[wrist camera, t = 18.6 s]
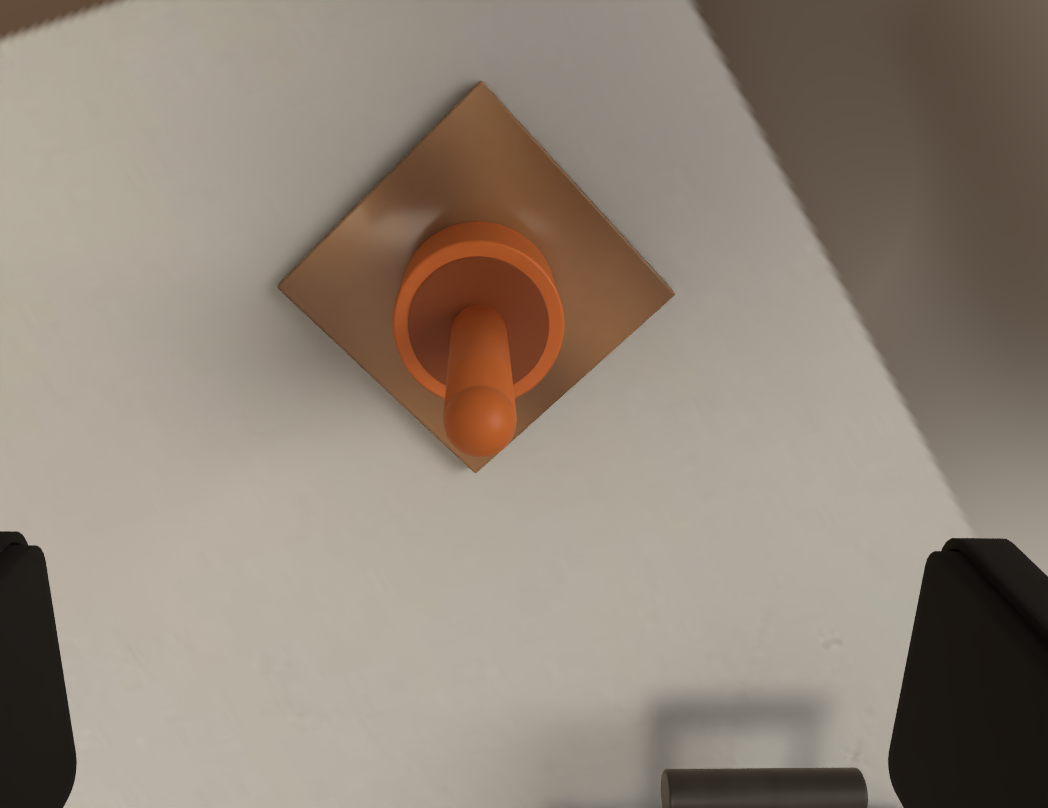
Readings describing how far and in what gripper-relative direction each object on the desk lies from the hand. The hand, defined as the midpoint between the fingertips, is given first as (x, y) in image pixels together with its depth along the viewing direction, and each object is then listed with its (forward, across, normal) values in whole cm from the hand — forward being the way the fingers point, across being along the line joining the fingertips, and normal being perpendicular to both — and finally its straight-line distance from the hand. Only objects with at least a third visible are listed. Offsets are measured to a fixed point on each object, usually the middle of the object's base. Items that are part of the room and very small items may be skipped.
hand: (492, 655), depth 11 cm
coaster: (+19, 0, +1) cm, 19 cm away
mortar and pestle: (+18, 0, +1) cm, 19 cm away
